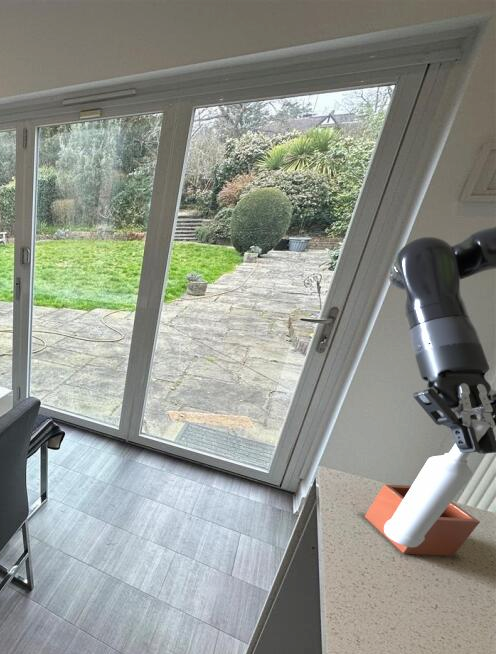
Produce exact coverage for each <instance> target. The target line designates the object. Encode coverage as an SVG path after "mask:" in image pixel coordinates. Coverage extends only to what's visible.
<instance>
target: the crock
mask: <svg viewBox="0 0 496 654" xmlns="http://www.w3.org/2000/svg"><path fill="white" fill-rule="evenodd" d="M411 486H412V485H405V484H403V485H402V484H386V483H385V484H383V486H382V487H381V489H380V490H379V492H378V493H377V495H376V497H375V498H374V500H373V502H372V503H371V505H370V507H368V508H369V509H368V510H367V512H366V513H365V515H364V518H365V519H366V520H367V521H368V522H370V523H371V525H372V526H374V528H376V529H377V530H378V531H379V532H380V533H381V534H382V535H383V536H384V537H385V538H386V539H387V540H388V541H390V542H391V543H392V544H393V546H395V547H396V548H397V549H398V550H399V551H400V552H401V553H402V554H408V555H409V554H410V555H411V554H412V555H413V554H414V555H432V556H449V557H450V556H452V557H453V556H455V554H456V553H457V552H458V551H459V549H460V548H461V547H462V546H463V544H465V542H466V541H467V539H468V538H469V537H470V536H471V534H472V533H473V532H474V531H475V529H476V528H477V527H478V525H479V524H480V523H481V521H480V520H479V519H477V518H476V517H475V516H472V515H471V514H470V513H469V512H467V511H466V510H464V508H462V507H461V506H460V505H457V504H456V503H455V502H453V501H452V502H451V503H450V504H449V505H448V507H447V508H446V509H445V510H444V512H443V513H442V514H441V515H440V517H439V518H438V519H437V521H436V522H435V523H434V524H433V526H432V527H431V528H430V529H429V531H428V532H427V533H426V535H425V536H424V537H425V540H424V541H423V542H422V543H421V544H420V545H418V546H417V547H407V546H404V545H401V544H399V543H397V542H395V541H393V540H392V539H390V538H389V537H388V536H387V535H386V534H385V532H384V526H385V524H386V522H387V521H388V520H391V518H392V517H393V515H394V514H395V512H396V510H397V509H398V507H399V506H400V504H401V502H402V501H403V499H404V498H405V496H406V494H407V493H408V491H409V489H410V488H411Z"/></svg>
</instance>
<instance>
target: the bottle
mask: <svg viewBox="0 0 496 654" xmlns="http://www.w3.org/2000/svg"><path fill="white" fill-rule="evenodd" d="M489 427H490V424H488V423H486V422H484V421H481V420H480V419H478V420H476V419H472V420H471V426H470V428H473V429H474V432H475V435H476V438H477V441H479V440H480V439H481V437H482V436H483V435H484V434H485V432H486V431H487V430H488V428H489ZM470 454H471V453H462V452H460V451H459V449H458V447H457V446H456V443H454V445H453V446H452V448H451V449H450V451H449V452H445V453H444V454H443V455H434V456H431V457H428V459H427V460H426V462H425V464H424V465H423V467H422V468H421V470H420V471H419V473H418V475H417V476H416V478H415V480H414V481H413V483H412V485H410V486H411V488H410V489H409V491H408V493H407V494H406V496H405V498H404V499H403V501H402V502H401V504H400V506H399V507H398V509H397V510H396V512H395V514H394V515H393V517H392V518H391V520H388V521H387V522H386V524H385V526H384V532H385V534H386V535H387V536H388V537H389V538H390V539H392V540H393V541H395V542H397V543H399V544H401V545H404V546H407V547H417V546H418V545H420V544H421V543H422V542H423V541H424V540H425V537H424V536H425V535H426V533H427V532H428V531H429V529H430V528H431V527H432V526H433V524H434V523H435V522H436V521H437V519H438V518H439V517H440V515H441V514H442V513H443V512H444V510H445V509H446V508H447V507H448V505H449V504H450V503H451V502H453V500H454V499H455V498H456V497H457V495H458V494H459V493H460V492H461V490H462V489H463V488H464V486H466V484H467V483H468V482H469V480H470V479H471V478H472V476H473V475H474V473H473V470H472V469H471V468H470V467H469V465H468V463H469V461H468V460H467V458H468V457H469V456H470Z"/></svg>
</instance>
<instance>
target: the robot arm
mask: <svg viewBox="0 0 496 654" xmlns="http://www.w3.org/2000/svg"><path fill="white" fill-rule="evenodd" d="M492 270H496V226H491V227H489V228H484V229H482V230H481V229H480V230H479V231H476V232H473V233H471V234H470V235H469V236H467V237H466V238H464V239H463V240H462V241H460V242H459V243H457V244H454V245H451V244H450V243H449V242H448V241H446V240H445V239H442V238H440V237H436V236H424V237H423V236H422V237H419V238H416V239H413V240H411V241H410V242H408V243H407V244H405V245H404V246H403V247H402V248H401V249H400V250H399V252H398V253H397V255H396V257H395V259H394V261H393V263H392V266H391V268H390V270H389V273H388V281H389V282H390V284H391V285H392V287H394V288H396V289H399V290H401V291H405V293H406V294H405V296H406V297H405V301H404V304H403V305H404V306H403V309H404V315H405V319H406V322H407V326H408V329H409V333H410V334H409V335H410V342H411V347H412V350H413V353H414V359H415V361H416V364H417V367H418V371H419V374H420V378H421V380H423V381H425V382H427V384H426V388H425V389H423V390H421V391H420V390H419V391H417V392H413V394H412V397H413V398H414V399H415V401H416V402H417V403H418V405H420V407H421V408H422V409H423V410H424V411H425V413H426V414H427V416H429V418H430V419H431V420H432V421H433V423H434V424H436V425H437V426H445V427H447V429H449V430H450V431H451V432H452V436H453V439H454V442H455V443H454V444H456V446H457V447H458V449H459V451H460V452H462V453H470V454H472V453H478V454H481V455H482V454H483V455H488V454H496V435H495V432H494V428H495V427H496V390H494V389H492V386H491V384H490V383H489V381H487V379H486V378H485V376H486V373H488V372H489V370H490V365H489V362H488V360H487V357H486V353H485V351H484V348H483V345H482V342H481V340H480V337H479V334H478V331H477V328H476V327H475V325H474V323H473V322H472V320H471V318H470V315H469V312H468V309H467V306H466V303H465V301H464V299H463V297H462V293H461V280H463V279H466V278H470V277H472V276H474V275H477V274H480V273H484V272H487V271H492ZM439 412H440V413H439ZM478 415H479V416H480V419H479V418H478ZM472 419H476V420H481V421H484V422H486V423H488V424H490V427H489V428H488V430H487V431H486V432H485V434H484V435H483V436H482V437H481V439H480V440H479V441H477V438H476V435H475V432H474V429H473V428H470V426H471V420H472Z"/></svg>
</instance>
